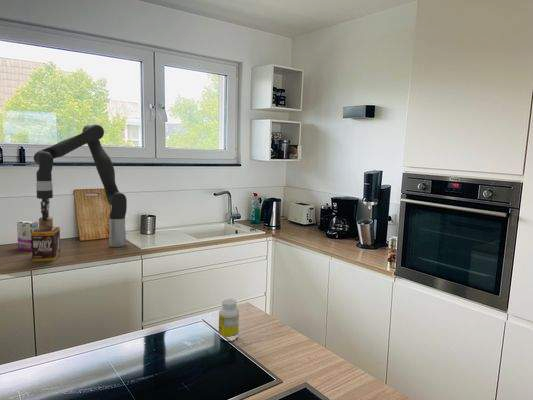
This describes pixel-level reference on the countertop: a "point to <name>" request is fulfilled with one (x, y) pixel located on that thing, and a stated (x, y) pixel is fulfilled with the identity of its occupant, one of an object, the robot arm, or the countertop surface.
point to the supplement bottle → (228, 318)
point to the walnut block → (46, 224)
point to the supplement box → (45, 244)
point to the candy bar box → (25, 234)
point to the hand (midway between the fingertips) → (45, 219)
